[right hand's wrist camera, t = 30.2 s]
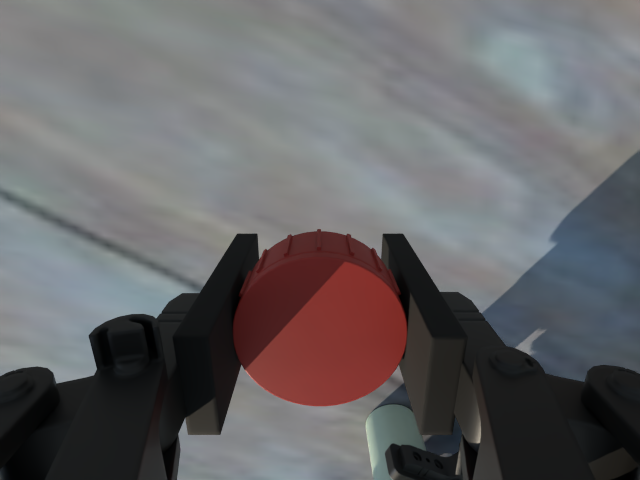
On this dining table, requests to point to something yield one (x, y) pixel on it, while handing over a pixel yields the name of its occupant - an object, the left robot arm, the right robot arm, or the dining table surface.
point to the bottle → (390, 435)
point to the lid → (320, 320)
